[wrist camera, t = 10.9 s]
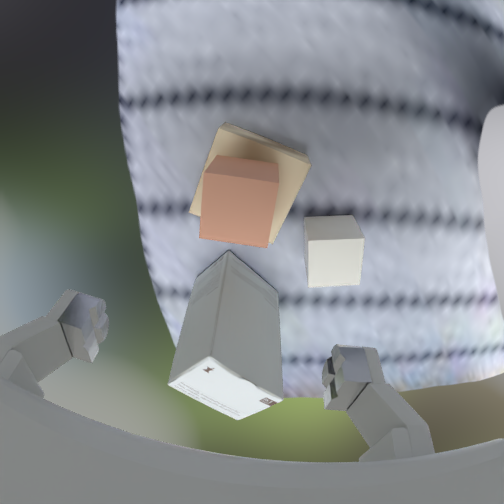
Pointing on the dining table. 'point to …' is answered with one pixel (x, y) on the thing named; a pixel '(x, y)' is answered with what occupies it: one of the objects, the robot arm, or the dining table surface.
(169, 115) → the dining table surface
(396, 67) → the dining table surface
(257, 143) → the beech base
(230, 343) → the skincare box
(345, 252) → the offwhite cube
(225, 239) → the terracotta cube
